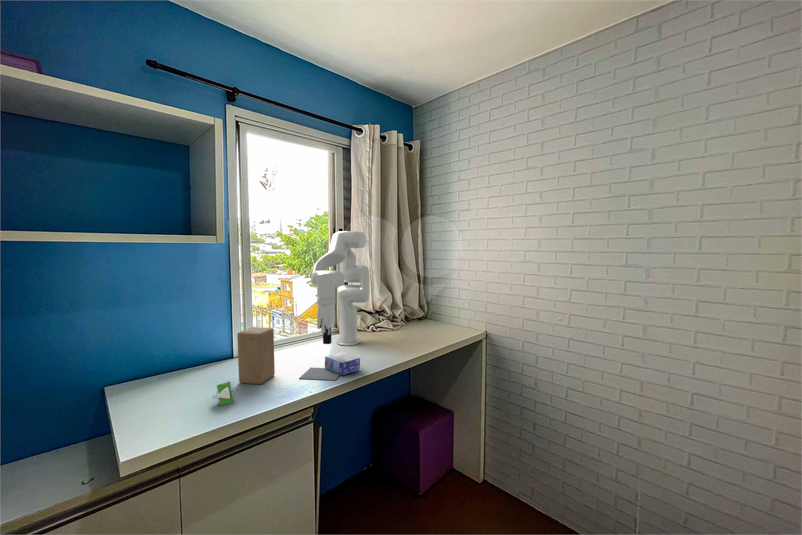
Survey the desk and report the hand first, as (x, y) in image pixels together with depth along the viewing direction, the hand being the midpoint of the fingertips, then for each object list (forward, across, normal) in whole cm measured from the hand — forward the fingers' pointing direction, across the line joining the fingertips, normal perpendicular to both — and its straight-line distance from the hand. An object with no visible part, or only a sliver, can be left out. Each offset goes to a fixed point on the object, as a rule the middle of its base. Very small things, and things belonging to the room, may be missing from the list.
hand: (327, 343), depth 146 cm
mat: (+11, +6, 0) cm, 13 cm away
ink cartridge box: (+8, -2, +2) cm, 9 cm away
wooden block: (+11, +14, -24) cm, 30 cm away
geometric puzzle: (+11, +34, -24) cm, 44 cm away
